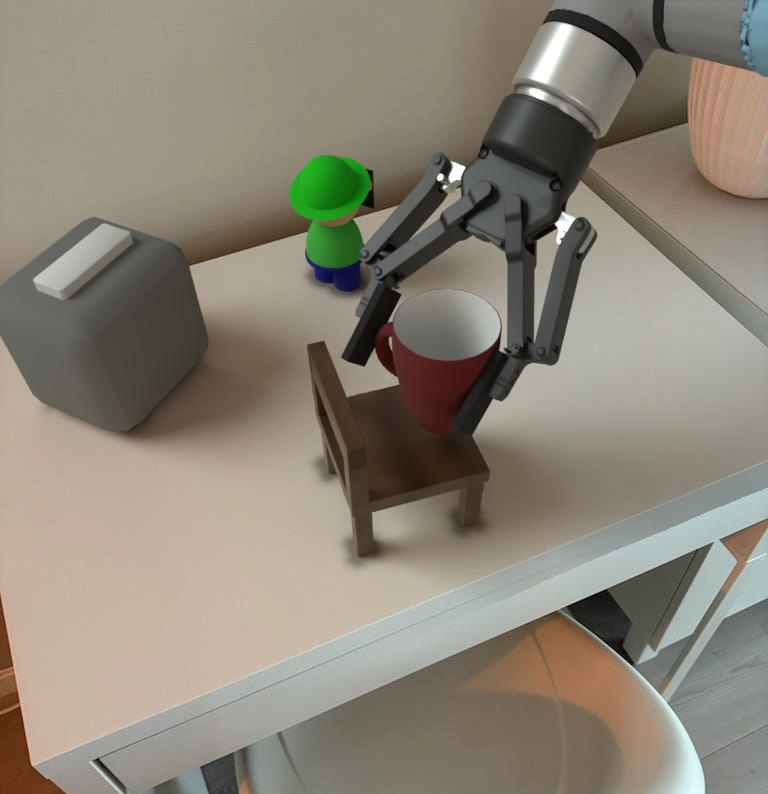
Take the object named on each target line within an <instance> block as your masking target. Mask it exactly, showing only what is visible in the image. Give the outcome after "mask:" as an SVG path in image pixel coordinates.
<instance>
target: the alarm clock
mask: <svg viewBox="0 0 768 794" xmlns="http://www.w3.org/2000/svg"><path fill="white" fill-rule="evenodd" d="M0 338H1V340H2V342H3V343H4V345H5V347H6V349H7V351H8V352H9V355H10V356H11V358H12V360H13V361H14V364H15V365H16V367H17V369H18V371H19V372H20V374H21V376H22V378H23V380H24V381H25V383H26V385H27V386H28V389H29V390H30V392H31V394H32V396H34V398H36V399H37V400H38V401H39V402H40V403H42V404H45V405H47V406H49V407H51V408H54V409H56V410H59V411H61V412H62V413H64V414H65V413H66V414H68V415H70V416H72V417H74V418H77V419H80V420H81V421H84V422H86V423H89V424H91V425H93V426H96V427H98V428H101V429H102V430H105V431H111V432H127V431H129V430H130V429H132V428H134V427H135V426H137V425H138V424H140V423H141V422H142V421H143V420H144V419H145V418H146V417H147V416H149V414H150V413H151V412H152V411H153V410H154V409H155V408H156V407H157V406H158V405H159V403H160V402H161V401H162V400H163V399H164V398H165V397H167V395H168V394H169V393H170V392H171V391H172V390H173V389H174V388H175V387H176V386H177V385H178V384H179V382H180V381H182V380H183V378H184V377H185V376H186V375H187V374H188V373H189V372H190V371H191V370H192V369H193V368H194V366H196V365H197V364H198V363H199V361H200V360H201V359H203V358H204V356H205V355H206V353H207V350H208V348H209V335H208V332H207V327H206V324H205V319H204V317H203V312H202V308H201V305H200V302H199V297H198V293H197V290H196V286H195V283H194V279H193V275H192V272H191V267H190V263H189V260H188V258H187V256H186V254H185V252H184V251H183V249H182V248H180V247H179V246H178V245H176V244H175V243H173V242H171V241H168V240H166V239H164V238H161V237H157V236H156V235H155V236H154V235H151V234H148V233H145V232H142V231H140V230H137V229H133V228H130V227H127V226H124V225H121V224H118V223H114V222H112V221H109V220H106V219H103V218H101V217H97V216H91V217H89V218H85V219H84V220H82V221H81V222H79V223H78V224H77V225H75V226H74V227H73V228H72V229H70V230H69V231H68V232H67V233H65V234H64V235H63V236H61V237H60V238H59V239H57V240H56V241H55V242H54V243H52V244H51V245H50V246H49V247H47V248H46V249H45V250H43V251H42V252H41V253H39V254H38V255H37V256H36V257H34V258H33V259H32V260H31V261H29V262H28V263H26V264H25V265H24V266H23V267H22V268H20V269H19V270H18V271H16V272H15V273H14V274H12V275H11V276H10V277H9V278H8V279H6V280H5V281H4V282H3V283H2V284H1V286H0Z"/></svg>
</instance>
